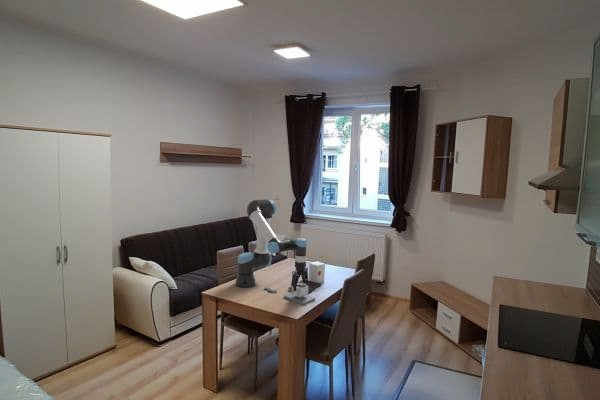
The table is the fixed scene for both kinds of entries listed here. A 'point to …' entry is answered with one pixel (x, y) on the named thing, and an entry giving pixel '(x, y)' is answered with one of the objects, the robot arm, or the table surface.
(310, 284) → the hardcover book
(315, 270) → the supplement box
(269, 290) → the chain tail
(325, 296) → the table surface
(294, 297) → the keeper
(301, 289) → the square tube segment
